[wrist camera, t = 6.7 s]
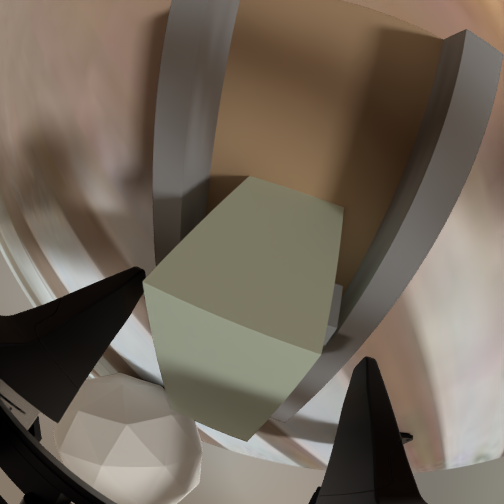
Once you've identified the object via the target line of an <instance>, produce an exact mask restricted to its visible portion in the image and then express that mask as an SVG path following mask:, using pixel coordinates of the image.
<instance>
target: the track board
mask: <svg viewBox="0 0 504 504" xmlns="http://www.w3.org/2000/svg"><path fill="white" fill-rule="evenodd" d="M502 60H503V54H502V53H501V52H499V51H498V50H497V49H495V48H494V47H493V46H491V45H490V44H489V43H487V42H486V41H484V40H483V39H481V38H480V37H478V36H477V35H475V34H474V33H472V32H471V31H469V30H467V29H466V30H463V31H461V32H459V33H457V34H454V35H452V36H450V37H448V38H446V39H444V40H443V39H441V38H439V37H437V36H435V35H433V34H431V33H429V32H427V31H425V30H423V29H421V28H419V27H417V26H414V25H412V24H410V23H408V22H405V21H403V20H400V19H398V18H395V17H393V16H390V15H387V14H385V13H382V12H379V11H376V10H373V9H370V8H367V7H363V6H360V5H356V4H353V3H349V2H345V1H341V0H172V2H171V7H170V12H169V16H168V22H167V27H166V32H165V38H164V44H163V51H162V57H161V65H160V72H159V81H158V90H157V101H156V113H155V127H154V148H153V224H154V245H155V261H156V267H157V266H158V265H159V263H160V262H161V261H162V260H163V259H164V258H165V257H166V256H167V255H168V254H169V253H170V252H171V251H172V250H173V249H174V248H175V247H176V246H177V245H178V244H179V243H180V242H181V241H182V240H183V239H184V238H185V237H186V236H187V235H188V234H189V233H190V232H191V231H192V230H193V229H194V228H195V227H196V226H197V225H198V224H199V223H200V222H201V221H202V220H203V219H204V218H205V217H206V216H207V215H208V214H209V213H210V212H211V211H212V210H213V209H214V208H215V207H217V206H218V205H219V204H220V203H221V202H222V201H223V200H224V199H225V198H226V197H227V196H228V195H229V194H230V193H231V192H232V191H234V190H235V189H236V188H237V187H238V186H239V185H240V184H241V183H242V182H243V181H244V180H245V179H247V178H248V177H249V176H252V177H255V178H258V179H262V180H265V181H268V182H271V183H275V184H278V185H281V186H284V187H287V188H290V189H293V190H296V191H299V192H302V193H305V194H308V195H311V196H314V197H316V198H319V199H322V200H325V201H328V202H330V203H333V204H336V205H339V206H341V207H344V213H343V223H342V232H341V241H340V249H339V257H338V264H337V271H336V278H335V284H338V285H341V286H343V290H342V297H341V305H340V312H339V319H338V325H337V329H336V331H335V332H334V333H333V335H332V336H331V338H330V339H329V341H328V342H327V343H326V345H323V349H322V353H321V356H320V357H319V358H318V360H317V361H316V362H315V364H314V365H313V366H312V367H311V369H310V370H309V371H308V373H307V374H306V375H305V376H304V378H303V379H302V380H301V381H300V383H299V384H298V385H297V386H296V388H295V389H294V390H293V391H292V392H291V394H290V395H289V396H288V397H287V398H286V400H285V401H284V402H283V403H282V404H281V405H280V407H279V408H278V409H277V410H276V411H275V412H274V413H273V414H272V416H271V417H270V418H272V419H275V420H278V421H281V422H286V421H287V420H289V419H290V418H291V417H292V416H293V415H294V414H295V413H296V412H298V411H299V410H300V409H301V408H302V407H303V406H304V405H305V404H306V403H307V402H308V401H309V400H310V399H311V398H313V397H314V396H315V395H316V394H317V393H318V392H319V391H320V390H321V389H322V388H323V387H324V386H325V385H326V384H327V383H328V382H329V381H330V380H331V379H332V377H333V376H334V375H335V374H336V373H337V372H338V371H339V370H340V369H341V368H342V367H343V366H344V365H345V364H346V362H347V361H348V360H349V359H350V358H351V357H352V356H353V355H354V353H355V352H356V351H357V350H358V349H359V348H360V347H361V345H362V344H363V343H364V342H365V341H366V339H367V338H368V337H369V336H370V335H371V333H372V332H373V331H374V330H375V328H376V327H377V326H378V325H379V323H380V322H381V321H382V320H383V318H384V317H385V316H386V314H387V313H388V312H389V310H390V309H391V308H392V306H393V305H394V304H395V302H396V301H397V299H398V298H399V297H400V295H401V294H402V292H403V291H404V290H405V288H406V287H407V285H408V284H409V282H410V281H411V279H412V278H413V276H414V275H415V273H416V272H417V270H418V269H419V267H420V265H421V264H422V262H423V261H424V259H425V258H426V256H427V254H428V253H429V251H430V249H431V248H432V246H433V244H434V242H435V241H436V239H437V237H438V235H439V234H440V232H441V230H442V228H443V226H444V225H445V223H446V221H447V219H448V217H449V215H450V213H451V211H452V209H453V207H454V205H455V203H456V201H457V199H458V197H459V195H460V193H461V191H462V189H463V186H464V184H465V182H466V180H467V177H468V175H469V173H470V170H471V168H472V165H473V163H474V160H475V158H476V155H477V153H478V150H479V147H480V144H481V142H482V139H483V136H484V133H485V130H486V127H487V124H488V120H489V117H490V114H491V110H492V106H493V103H494V99H495V95H496V91H497V86H498V82H499V77H500V71H501V66H502Z"/></svg>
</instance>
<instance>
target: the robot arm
mask: <svg viewBox="0 0 504 504" xmlns="http://www.w3.org/2000/svg"><path fill="white" fill-rule="evenodd" d="M145 278H146V275H145V271H144V270H143V269H141V268H139V267H132V268H130V269H127V270H125V271H123V272H120V273H118V274H115V275H113V276H110V277H108V278H106V279H103V280H101V281H98V282H96V283H94V284H91V285H89V286H86V287H84V288H82V289H79V290H77V291H75V292H72V293H70V294H68V295H65V296H63V297H61V298H58V299H56V300H54V301H51V302H49V303H46V304H44V305H41V306H38V307H36V308H33V309H30V310H27V311H24V312H21V313H18V314H15V315H11V316H1V315H0V467H1V469H2V470H3V471H4V472H5V473H6V474H7V475H8V477H9V478H10V479H11V480H12V481H13V482H14V483H15V484H16V486H17V487H18V488H19V489H20V490H21V491H22V492H23V493H24V494H25V495H24V497H23V499H22V501H21V502H20V504H72V503H71V501H72V502H73V503H75V504H117V503H115V502H114V501H112V500H110V499H109V498H107V497H106V496H104V495H103V494H101V493H100V492H98V491H97V490H95V489H94V488H93V487H91V486H90V485H88V484H87V483H86V482H84V481H83V480H82V479H80V478H79V477H78V476H77V475H75V474H74V473H73V472H72V471H70V470H69V469H68V468H67V467H65V466H64V465H63V464H62V463H61V462H60V461H58V460H57V459H56V458H55V457H54V456H53V455H52V454H51V453H50V452H49V451H47V450H46V449H45V448H44V447H43V446H42V445H41V444H40V443H39V442H40V440H41V439H42V437H41V431H40V424H39V417H38V415H39V414H40V412H42V413H43V414H45V415H46V416H47V417H49V418H50V419H52V420H53V421H55V422H56V423H59V422H60V420H61V418H62V417H63V415H64V413H65V412H66V410H67V408H68V407H69V405H70V404H71V402H72V400H73V399H74V397H75V396H76V394H77V393H78V391H79V389H80V388H81V386H82V385H83V383H84V381H85V380H86V378H87V377H88V375H89V374H90V372H91V371H92V369H93V368H94V366H95V365H96V363H97V362H98V360H99V359H100V358H101V356H102V355H103V353H104V352H105V350H106V349H107V347H108V346H109V345H110V343H111V342H112V340H113V339H114V337H115V336H116V335H117V333H118V332H119V330H120V329H121V328H122V326H123V325H124V324H125V322H126V321H127V319H128V318H129V316H130V315H131V313H132V311H133V309H134V308H135V306H136V304H137V303H138V301H139V299H140V297H141V296H142V294H143V292H144V288H143V280H144V279H145ZM411 440H413V435H406V434H400V432H399V428H398V425H397V422H396V418H395V415H394V412H393V409H392V406H391V402H390V399H389V396H388V393H387V390H386V387H385V384H384V381H383V379H382V376H381V373H380V370H379V367H378V364H377V362H376V360H375V359H374V358H371V357H367V356H366V357H364V358H363V359H362V360H361V361H360V362H359V363H358V364H357V366H356V367H355V368H354V370H353V373H352V377H351V380H350V384H349V387H348V390H347V394H346V397H345V400H344V403H343V407H342V411H341V416H340V420H339V424H338V429H337V433H336V437H335V441H334V445H333V449H332V453H331V456H330V460H329V463H328V467H327V470H326V473H325V477H324V480H323V483H322V486H321V487H318V488H317V490H316V492H315V493H314V494H313V496H312V498H311V500H310V502H309V504H427V503H426V502H425V501H424V500H423V498H422V497H421V495H420V493H419V490H418V488H417V485H416V482H415V479H414V476H413V474H412V471H411V468H410V465H409V462H408V459H407V456H406V453H405V449H404V446H403V444H405V443H407V442H409V441H411ZM0 504H8V503H7V502H6V501H5V500H4V499H3V498H2V497H1V495H0Z"/></svg>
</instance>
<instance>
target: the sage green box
mask: <svg viewBox="0 0 504 504" xmlns="http://www.w3.org/2000/svg"><path fill="white" fill-rule="evenodd" d="M343 213H344V207H341V206H339V205H336V204H333V203H330V202H328V201H325V200H322V199H319V198H316V197H314V196H311V195H308V194H305V193H302V192H299V191H296V190H293V189H290V188H287V187H284V186H281V185H278V184H275V183H271V182H268V181H265V180H262V179H258V178H255V177H252V176H249V177H248V178H247V179H245V180H244V181H243V182H242V183H241V184H240V185H239V186H238V187H237V188H236V189H235V190H234V191H232V192H231V193H230V194H229V195H228V196H227V197H226V198H225V199H224V200H223V201H222V202H221V203H220V204H219V205H218V206H217V207H215V208H214V209H213V210H212V211H211V212H210V213H209V214H208V215H207V216H206V217H205V218H204V219H203V220H202V221H201V222H200V223H199V224H198V225H197V226H196V227H195V228H194V229H193V230H192V231H191V232H190V233H189V234H188V235H187V236H186V237H185V238H184V239H183V240H182V241H181V242H180V243H179V244H178V245H177V246H176V247H175V248H174V249H173V250H172V251H171V252H170V253H169V254H168V255H167V256H166V257H165V258H164V259H163V260H162V261H161V262H160V263H159V265H158V266H157V267H156V268H155V269H154V270H153V271H152V272H151V273H150V274H149V275H148V276H147V277H146V278H145V279H144V280H143V288H144V295H145V301H146V307H147V312H148V318H149V323H150V328H151V333H152V338H153V342H154V347H155V351H156V356H157V360H158V364H159V368H160V372H161V376H162V380H163V383H164V387H165V391H166V394H167V398H168V401H169V405H170V408H171V409H172V410H174V411H176V412H178V413H180V414H182V415H184V416H186V417H188V418H190V419H192V420H194V421H197V422H199V423H201V424H203V425H205V426H208V427H210V428H212V429H215V430H217V431H220V432H222V433H225V434H227V435H230V436H232V437H235V438H238V439H241V440H243V441H246V442H247V441H248V440H249V439H250V438H251V437H252V436H253V435H254V434H255V433H256V432H257V431H258V430H259V429H260V428H261V427H262V425H263V424H264V423H265V422H266V421H267V420H268V419H269V418H270V417H271V416H272V414H273V413H274V412H275V411H276V410H277V409H278V408H279V407H280V405H281V404H282V403H283V402H284V401H285V400H286V398H287V397H288V396H289V395H290V394H291V392H292V391H293V390H294V389H295V388H296V386H297V385H298V384H299V383H300V381H301V380H302V379H303V378H304V376H305V375H306V374H307V373H308V371H309V370H310V369H311V367H312V366H313V365H314V364H315V362H316V361H317V360H318V358H319V357H320V356H321V353H322V349H323V345H326V343H327V342H328V341H329V339H330V338H331V336H332V335H333V333H334V332H335V331H336V329H337V325H338V319H339V312H340V305H341V297H342V290H343V286H341V285H338V284H335V278H336V271H337V264H338V257H339V249H340V241H341V232H342V223H343Z"/></svg>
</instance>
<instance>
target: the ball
mask: <svg viewBox="0 0 504 504" xmlns="http://www.w3.org/2000/svg"><path fill="white" fill-rule="evenodd" d="M54 441H55V444H56V447H57V450H58V452H59V455H60V457H61V460H62V462H63V465H64V466H65V467H67V468H68V469H69V470H70V471H72V472H73V473H74V474H75V475H77V476H78V477H79V478H80V479H82V480H83V481H84V482H86V483H87V484H88V485H90V486H91V487H93V488H94V489H95V490H97V491H98V492H100V493H101V494H103V495H104V496H106V497H107V498H109V499H110V500H112V501H114V502H115V503H117V504H177V503H178V502H179V501H180V500H182V499H183V498H184V497H185V496H186V495H187V494H188V493H189V492H190V491H192V490H193V489H194V488H195V487H196V486H197V485H198V484H199V482H200V471H201V461H202V442H201V439H200V436H199V433H198V430H197V427H196V423H195V421H194V420H192V419H190V418H188V417H186V416H184V415H182V414H180V413H178V412H176V411H174V410H172V409H171V408H170V405H169V401H168V398H167V394H166V391H165V389H164V388H163V387H162V386H160V385H157V384H153V383H150V382H147V381H144V380H141V379H137V378H134V377H131V376H128V375H126V374H123V373H117V374H113V375H108V376H103V377H98V378H93V379H87V380H85V381H84V383H83V385H82V386H81V388H80V389H79V391H78V393H77V394H76V396H75V397H74V399H73V400H72V402H71V404H70V405H69V407H68V408H67V410H66V412H65V413H64V415H63V417H62V418H61V420H60V422H59V423H56V422H55V425H54Z"/></svg>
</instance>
